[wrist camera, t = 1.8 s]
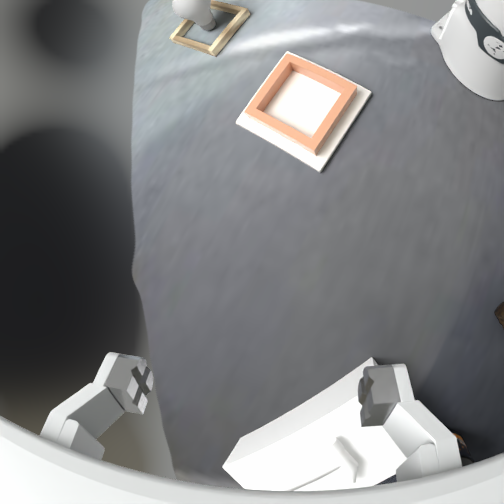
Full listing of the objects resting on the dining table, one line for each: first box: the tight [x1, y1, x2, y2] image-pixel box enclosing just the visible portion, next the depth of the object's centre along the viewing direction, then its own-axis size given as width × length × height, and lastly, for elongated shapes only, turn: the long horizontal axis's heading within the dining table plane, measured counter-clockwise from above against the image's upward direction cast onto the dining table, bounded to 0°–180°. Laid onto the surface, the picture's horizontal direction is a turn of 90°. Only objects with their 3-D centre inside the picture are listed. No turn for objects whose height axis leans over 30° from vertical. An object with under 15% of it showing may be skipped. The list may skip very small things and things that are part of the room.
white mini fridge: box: [223, 357, 407, 491], centre depth 36 cm, size 14×25×11 cm, turn 130°
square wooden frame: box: [170, 0, 251, 57], centre depth 43 cm, size 10×10×2 cm
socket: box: [235, 51, 371, 173], centre depth 39 cm, size 14×14×4 cm
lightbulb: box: [172, 0, 216, 31], centre depth 39 cm, size 6×6×11 cm
